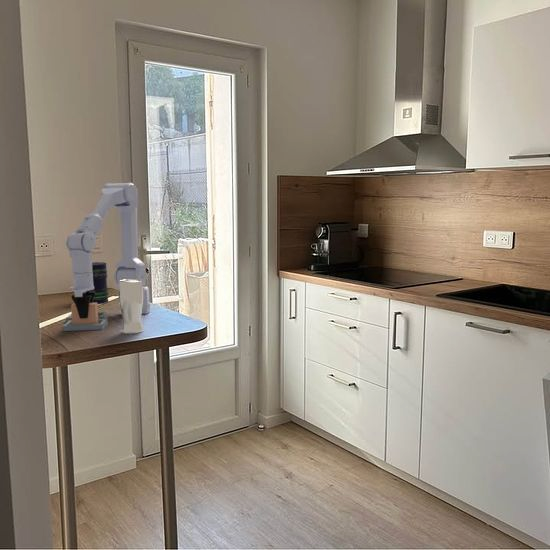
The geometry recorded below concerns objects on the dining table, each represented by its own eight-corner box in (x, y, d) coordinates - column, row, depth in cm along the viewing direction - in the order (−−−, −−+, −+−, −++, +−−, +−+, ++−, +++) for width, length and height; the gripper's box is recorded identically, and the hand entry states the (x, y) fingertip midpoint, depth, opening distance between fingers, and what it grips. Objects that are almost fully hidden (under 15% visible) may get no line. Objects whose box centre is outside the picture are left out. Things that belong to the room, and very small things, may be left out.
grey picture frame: (107, 323, 174) (107, 319, 173) (102, 329, 166) (102, 324, 166) (69, 325, 172) (69, 320, 172) (62, 331, 164) (62, 326, 164)
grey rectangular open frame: (108, 316, 186) (108, 311, 186) (103, 321, 178) (103, 316, 178) (72, 317, 184) (72, 313, 184) (66, 322, 177) (66, 317, 176)
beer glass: (135, 327, 167) (132, 278, 165) (149, 330, 163) (147, 280, 161) (115, 332, 162) (112, 281, 160) (129, 335, 158) (127, 282, 156)
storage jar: (101, 304, 208) (99, 265, 206) (76, 304, 210) (74, 265, 208) (113, 300, 218) (111, 262, 216) (89, 300, 219) (87, 262, 217)
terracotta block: (98, 324, 171) (97, 302, 170) (96, 327, 168) (95, 304, 167) (75, 325, 170) (73, 303, 169) (72, 328, 167) (70, 305, 166)
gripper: (74, 270, 174) (77, 312, 175) (62, 275, 159) (65, 322, 161) (97, 269, 174) (100, 312, 176) (87, 275, 160) (90, 321, 162)
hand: (85, 316), depth 169 cm, fingers closed on terracotta block, 3 cm apart
